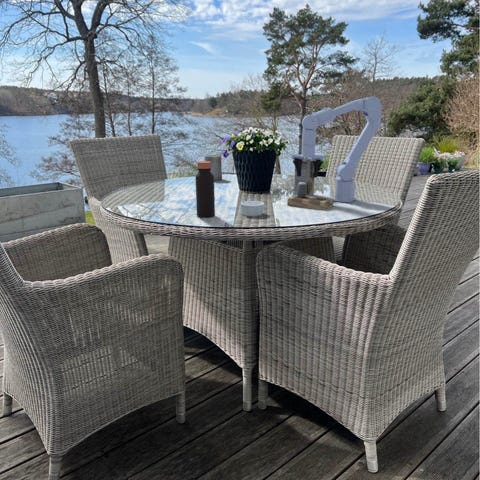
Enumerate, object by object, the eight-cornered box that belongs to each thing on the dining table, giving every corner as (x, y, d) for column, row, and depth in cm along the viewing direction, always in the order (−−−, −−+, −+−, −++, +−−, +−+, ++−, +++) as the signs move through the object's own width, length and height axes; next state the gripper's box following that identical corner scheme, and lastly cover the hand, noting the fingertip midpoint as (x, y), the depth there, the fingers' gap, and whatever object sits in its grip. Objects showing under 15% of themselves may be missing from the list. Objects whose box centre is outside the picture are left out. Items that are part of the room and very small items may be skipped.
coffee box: (301, 193, 201) (302, 159, 197) (313, 194, 198) (315, 159, 193) (293, 196, 194) (294, 161, 189) (306, 197, 191) (308, 161, 186)
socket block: (298, 201, 183) (298, 193, 182) (332, 205, 174) (333, 197, 173) (287, 205, 175) (287, 197, 174) (323, 209, 166) (323, 201, 165)
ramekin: (268, 214, 161) (268, 202, 159) (253, 218, 154) (253, 206, 153) (250, 210, 166) (250, 199, 165) (235, 214, 160) (235, 203, 159)
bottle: (193, 216, 157) (191, 162, 151) (204, 212, 162) (202, 160, 156) (207, 218, 153) (205, 163, 147) (218, 215, 159) (217, 161, 153)
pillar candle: (215, 177, 251) (214, 152, 247) (225, 179, 244) (224, 153, 240) (202, 179, 246) (200, 153, 241) (211, 181, 238) (210, 154, 234)
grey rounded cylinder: (299, 201, 179) (300, 181, 176) (307, 202, 177) (308, 182, 174) (295, 203, 176) (296, 183, 174) (303, 204, 174) (304, 183, 172)
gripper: (328, 144, 177) (326, 176, 181) (297, 143, 185) (296, 174, 189) (321, 145, 171) (320, 178, 175) (289, 144, 179) (289, 176, 183)
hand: (307, 176), depth 182 cm, fingers open, 7 cm apart
